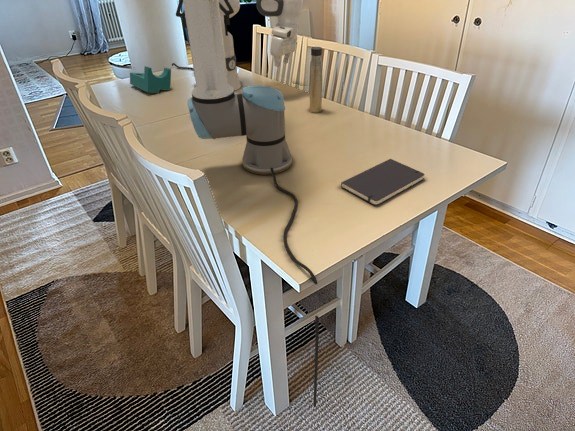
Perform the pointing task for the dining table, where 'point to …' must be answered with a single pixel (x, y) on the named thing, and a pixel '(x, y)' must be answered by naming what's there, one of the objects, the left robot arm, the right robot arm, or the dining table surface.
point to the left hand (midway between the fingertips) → (281, 64)
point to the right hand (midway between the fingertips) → (208, 36)
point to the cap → (316, 51)
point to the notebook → (382, 181)
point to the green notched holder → (151, 80)
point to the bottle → (316, 84)
